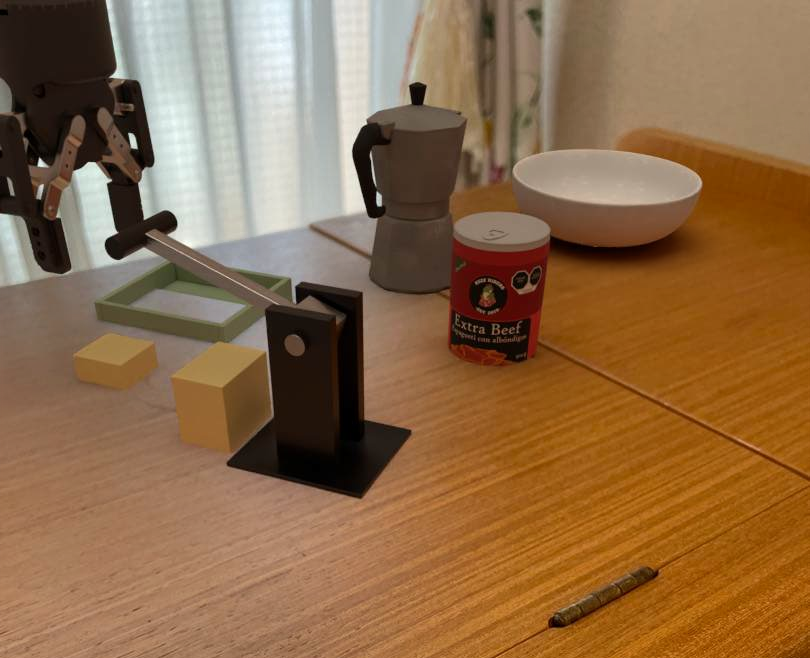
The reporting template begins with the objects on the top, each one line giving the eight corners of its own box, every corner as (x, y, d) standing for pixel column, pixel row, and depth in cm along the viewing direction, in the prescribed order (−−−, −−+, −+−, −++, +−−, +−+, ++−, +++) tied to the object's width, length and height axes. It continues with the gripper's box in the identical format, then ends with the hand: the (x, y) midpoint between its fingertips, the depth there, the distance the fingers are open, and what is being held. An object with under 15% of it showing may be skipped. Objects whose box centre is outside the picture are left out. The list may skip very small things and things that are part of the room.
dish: (99, 328, 78) (93, 301, 77) (175, 281, 87) (172, 257, 86) (227, 354, 75) (223, 326, 73) (293, 303, 84) (291, 277, 82)
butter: (182, 452, 62) (170, 376, 58) (226, 413, 66) (217, 340, 63) (231, 464, 61) (222, 387, 57) (273, 424, 65) (266, 350, 62)
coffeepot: (416, 250, 96) (420, 66, 85) (487, 270, 91) (501, 79, 80) (321, 290, 86) (312, 89, 75) (395, 316, 82) (397, 105, 71)
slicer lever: (102, 260, 55) (105, 226, 53) (157, 232, 59) (161, 199, 58) (309, 372, 54) (319, 340, 52) (349, 334, 58) (359, 304, 57)
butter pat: (80, 389, 69) (71, 354, 67) (114, 366, 72) (108, 332, 71) (127, 400, 68) (120, 365, 66) (160, 376, 71) (154, 342, 69)
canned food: (436, 367, 73) (442, 236, 66) (460, 330, 79) (467, 206, 73) (526, 381, 71) (541, 248, 65) (543, 342, 78) (558, 216, 71)
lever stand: (228, 476, 60) (206, 313, 52) (289, 416, 66) (278, 264, 59) (361, 510, 57) (358, 342, 50) (411, 443, 63) (415, 287, 56)
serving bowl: (472, 239, 99) (476, 175, 95) (562, 197, 112) (569, 139, 108) (641, 283, 89) (654, 214, 85) (717, 231, 102) (732, 170, 98)
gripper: (67, -22, 60) (112, 217, 70) (-97, -1, 50) (-16, 277, 59) (159, -16, 58) (192, 229, 68) (8, 7, 47) (74, 294, 57)
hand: (95, 251), depth 64 cm, fingers open, 8 cm apart
